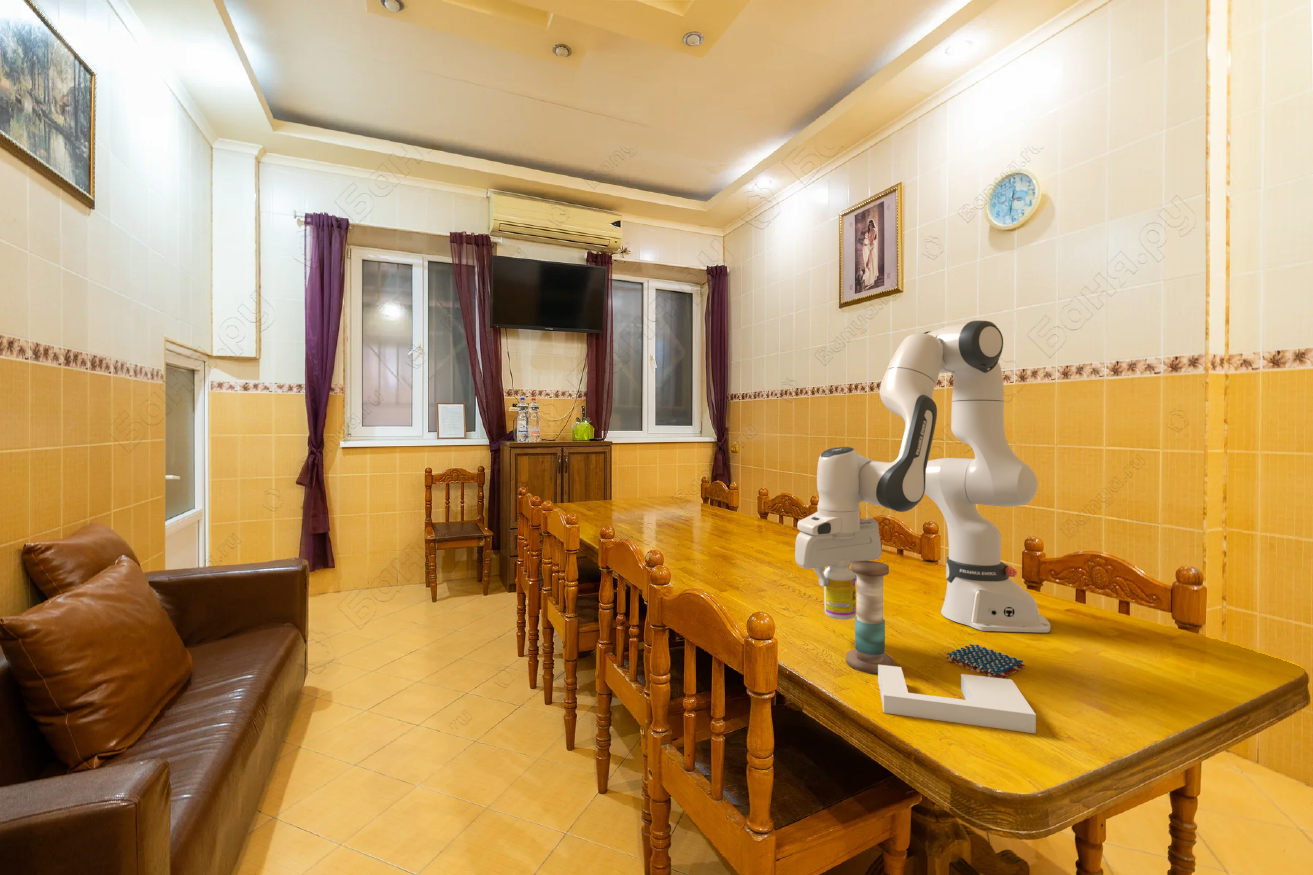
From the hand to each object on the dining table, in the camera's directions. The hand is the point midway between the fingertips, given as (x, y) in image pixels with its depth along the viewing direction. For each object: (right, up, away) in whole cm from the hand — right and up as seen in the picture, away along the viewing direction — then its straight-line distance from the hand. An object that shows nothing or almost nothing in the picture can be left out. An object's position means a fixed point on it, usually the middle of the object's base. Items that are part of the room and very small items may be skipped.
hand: (839, 583), depth 123 cm
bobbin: (+2, -13, -11) cm, 17 cm away
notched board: (+10, -14, -27) cm, 32 cm away
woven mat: (+25, -14, -12) cm, 31 cm away
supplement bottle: (0, -7, 0) cm, 7 cm away
